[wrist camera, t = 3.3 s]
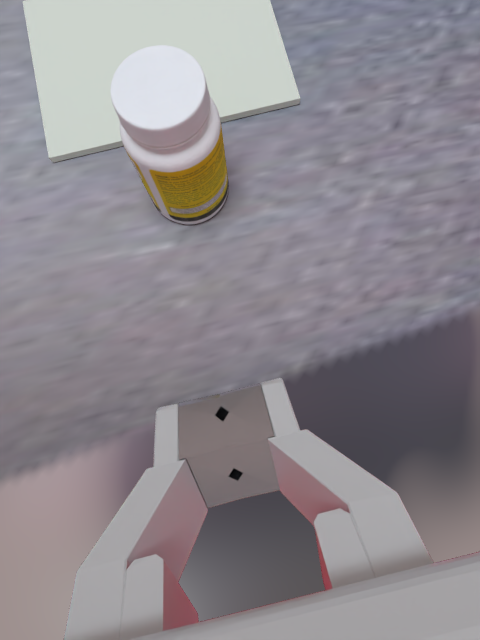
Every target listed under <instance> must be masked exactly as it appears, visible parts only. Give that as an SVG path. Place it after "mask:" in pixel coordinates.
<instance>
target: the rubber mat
mask: <svg viewBox="0 0 480 640" xmlns="http://www.w3.org/2000/svg"><path fill="white" fill-rule="evenodd" d="M23 6H24V12H25V18H26V24H27V30H28V36H29V42H30V48H31V54H32V60H33V66H34V72H35V78H36V84H37V90H38V96H39V102H40V108H41V114H42V120H43V126H44V132H45V138H46V144H47V150H48V156H49V159H50V160H51V161H52V162H53V163H54V162H58V161H62V160H66V159H71V158H75V157H79V156H83V155H87V154H92V153H96V152H100V151H104V150H108V149H113V148H117V147H121V146H124V145H123V142H122V139H121V135H120V120H119V118H118V115H117V113H116V111H115V109H114V106H113V103H112V100H111V93H110V89H111V82H112V78H113V76H114V73H115V71H116V70H117V68H118V67H119V65H120V64H121V63H122V62H123V61H124V60H125V59H126V58H127V57H128V56H129V55H131V54H133V53H134V52H136V51H138V50H140V49H143V48H146V47H150V46H157V45H167V46H173V47H177V48H179V49H182V50H184V51H186V52H187V53H189V54H190V55H191V56H193V57H194V58H195V59H196V60H197V62H198V63H199V64H200V66H201V67H202V70H203V72H204V75H205V78H206V83H207V87H208V90H209V94H210V97H211V98H212V100H213V101H214V103H215V105H216V107H217V109H218V112H219V116H220V121H221V123H222V122H226V121H230V120H234V119H239V118H243V117H247V116H251V115H255V114H260V113H264V112H268V111H272V110H276V109H281V108H285V107H289V106H293V105H297V104H299V103H300V96H299V93H298V89H297V86H296V83H295V80H294V76H293V73H292V70H291V67H290V64H289V60H288V57H287V54H286V51H285V47H284V44H283V41H282V38H281V35H280V31H279V28H278V25H277V22H276V18H275V15H274V12H273V9H272V5H271V2H270V0H26V1H23Z"/></svg>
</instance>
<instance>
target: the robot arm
mask: <svg viewBox="0 0 480 640" xmlns="http://www.w3.org/2000/svg"><path fill="white" fill-rule="evenodd" d="M279 490H280V491H281V493H282V494H283V495H284V496H285V497H286V498H287V499H288V500H289V501H290V502H291V503H292V504H293V505H294V506H295V507H296V508H297V509H298V510H299V511H300V512H301V513H302V514H303V515H304V516H305V517H306V519H307V520H308V521H309V522H310V523H311V524H312V525H313V526H314V527H315V533H316V540H317V545H318V552H319V558H320V564H321V571H322V577H323V582H324V586H325V590H324V591H321V592H317V593H313V594H309V595H305V596H301V597H297V598H293V599H289V600H285V601H281V602H277V603H273V604H269V605H265V606H261V607H257V608H253V609H249V610H245V611H241V612H237V613H234V614H229V615H225V616H221V617H217V618H213V619H209V620H205V621H201V622H198V613H197V611H196V610H195V608H194V607H193V605H192V604H191V602H190V600H189V599H188V597H187V596H186V594H185V593H184V591H183V589H182V588H181V586H180V585H179V583H178V582H179V579H180V577H181V575H182V572H183V570H184V567H185V565H186V562H187V560H188V558H189V555H190V553H191V551H192V548H193V546H194V543H195V541H196V538H197V536H198V534H199V531H200V529H201V526H202V524H203V522H204V519H205V517H206V514H207V512H208V509H207V508H210V507H214V506H217V505H221V504H225V503H228V502H232V501H235V500H239V499H242V498H247V497H252V496H256V495H260V494H265V493H270V492H274V491H279ZM64 640H480V552H476V553H472V554H468V555H464V556H460V557H456V558H452V559H448V560H444V561H440V562H436V563H434V562H433V560H432V558H431V557H430V555H429V553H428V551H427V549H426V547H425V545H424V543H423V541H422V539H421V537H420V535H419V533H418V531H417V529H416V528H415V526H414V524H413V522H412V520H411V518H410V516H409V514H408V512H407V510H406V508H405V506H404V504H403V502H402V501H401V499H400V497H399V495H398V493H397V492H396V491H394V490H393V489H392V488H390V487H389V486H387V485H386V484H384V483H383V482H382V481H380V480H379V479H377V478H376V477H374V476H373V475H372V474H370V473H369V472H367V471H366V470H364V469H363V468H362V467H360V466H359V465H357V464H356V463H354V462H353V461H352V460H350V459H349V458H347V457H346V456H344V455H343V454H342V453H340V452H339V451H337V450H336V449H334V448H333V447H331V446H330V445H328V444H327V443H326V442H324V441H323V440H321V439H320V438H319V437H317V436H316V435H314V434H313V433H312V432H310V431H309V430H307V429H306V430H301V431H300V428H299V425H298V422H297V419H296V417H295V414H294V411H293V408H292V405H291V402H290V400H289V396H288V393H287V390H286V388H285V385H284V382H283V380H282V379H281V378H278V379H274V380H270V381H266V382H262V383H261V385H260V383H259V384H255V385H251V386H247V387H243V388H239V389H235V390H231V391H228V392H224V393H220V394H216V395H212V396H207V397H203V398H198V399H194V400H189V401H185V402H180V403H178V404H173V405H169V406H164V407H159V408H158V409H157V412H156V420H155V441H154V461H153V467H151V468H148V469H147V470H146V471H145V472H144V474H143V475H142V477H141V478H140V480H139V481H138V482H137V484H136V485H135V487H134V488H133V490H132V491H131V493H130V494H129V496H128V497H127V499H126V500H125V501H124V503H123V504H122V506H121V507H120V509H119V510H118V512H117V513H116V515H115V516H114V517H113V519H112V521H111V522H110V523H109V525H108V526H107V528H106V529H105V531H104V532H103V534H102V535H101V536H100V538H99V540H98V541H97V542H96V544H95V545H94V547H93V548H92V550H91V551H90V553H89V554H88V556H87V557H86V559H85V560H84V561H83V563H82V564H81V566H80V567H79V569H78V570H77V572H76V577H75V582H74V588H73V593H72V598H71V603H70V608H69V614H68V619H67V624H66V629H65V635H64Z"/></svg>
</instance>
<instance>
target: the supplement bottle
mask: <svg viewBox="0 0 480 640" xmlns="http://www.w3.org/2000/svg"><path fill="white" fill-rule="evenodd" d="M110 93H111V100H112V103H113V106H114V109H115V111H116V113H117V115H118V118H119V120H120V135H121V139H122V142H123V145H124V147H125V150H126V152H127V154H128V155H129V157H130V159H131V161H132V163H133V165H134V167H135V169H136V171H137V173H138V175H139V176H140V178H141V180H142V182H143V184H144V186H145V188H146V190H147V192H148V194H149V195H150V197H151V199H152V201H153V203H154V205H155V206H156V208H157V209H158V211H159V212H160V213H161V214H162V215H164V216H165V217H166V218H168V219H170V220H172V221H174V222H177V223H181V224H197V223H201V222H204V221H206V220H208V219H210V218H211V217H213V216H214V215H215V214H216V213H217V212H218V211H219V210H220V209H221V208H222V206H223V204H224V203H225V200H226V198H227V194H228V176H227V168H226V160H225V151H224V144H223V136H222V128H221V121H220V116H219V112H218V109H217V107H216V105H215V103H214V101H213V100H212V98H211V97H210V94H209V90H208V87H207V83H206V78H205V75H204V72H203V70H202V67H201V66H200V64H199V63H198V62H197V60H196V59H195V58H194V57H193V56H191V55H190V54H189V53H187V52H186V51H184V50H182V49H179V48H177V47H173V46H167V45H157V46H150V47H146V48H143V49H140V50H138V51H136V52H134V53H133V54H131V55H129V56H128V57H127V58H126V59H125V60H124V61H123V62H122V63H121V64H120V65H119V67H118V68H117V70H116V71H115V73H114V76H113V78H112V82H111V89H110Z"/></svg>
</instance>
